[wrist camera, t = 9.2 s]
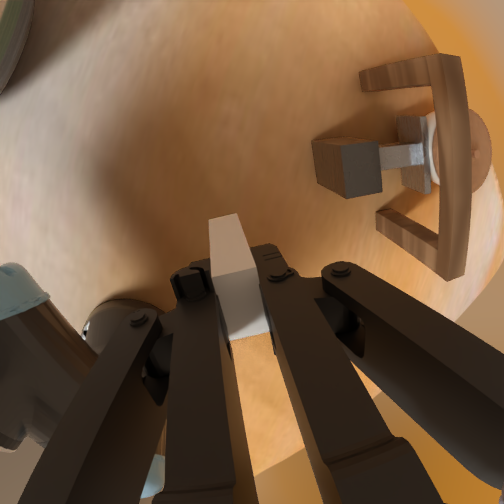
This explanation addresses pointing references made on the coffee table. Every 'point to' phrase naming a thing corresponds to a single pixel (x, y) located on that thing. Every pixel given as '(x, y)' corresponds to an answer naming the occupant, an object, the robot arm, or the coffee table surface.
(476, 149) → the lidded jar
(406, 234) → the bridge
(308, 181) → the coffee table surface
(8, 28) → the planter
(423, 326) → the robot arm
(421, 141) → the cube and plate dumbbell
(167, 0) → the coffee table surface
